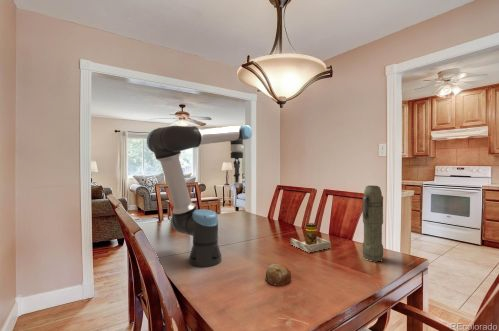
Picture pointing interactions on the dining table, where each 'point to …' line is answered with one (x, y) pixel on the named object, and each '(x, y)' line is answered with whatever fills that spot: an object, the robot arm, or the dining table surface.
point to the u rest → (311, 248)
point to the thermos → (372, 223)
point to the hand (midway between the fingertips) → (236, 186)
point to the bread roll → (278, 274)
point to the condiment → (311, 234)
